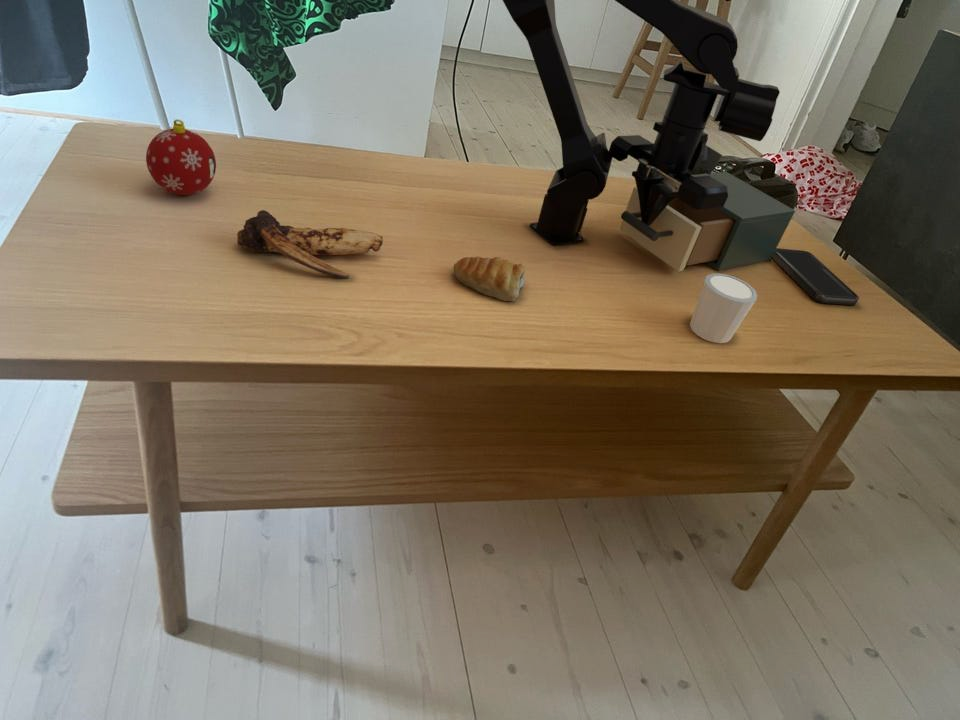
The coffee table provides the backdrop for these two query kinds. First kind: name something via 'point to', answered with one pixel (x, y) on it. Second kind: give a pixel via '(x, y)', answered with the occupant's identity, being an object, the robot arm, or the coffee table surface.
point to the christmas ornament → (180, 160)
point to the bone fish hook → (305, 242)
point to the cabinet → (750, 223)
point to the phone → (814, 277)
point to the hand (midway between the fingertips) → (646, 224)
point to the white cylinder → (721, 307)
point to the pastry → (491, 276)
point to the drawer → (679, 232)
